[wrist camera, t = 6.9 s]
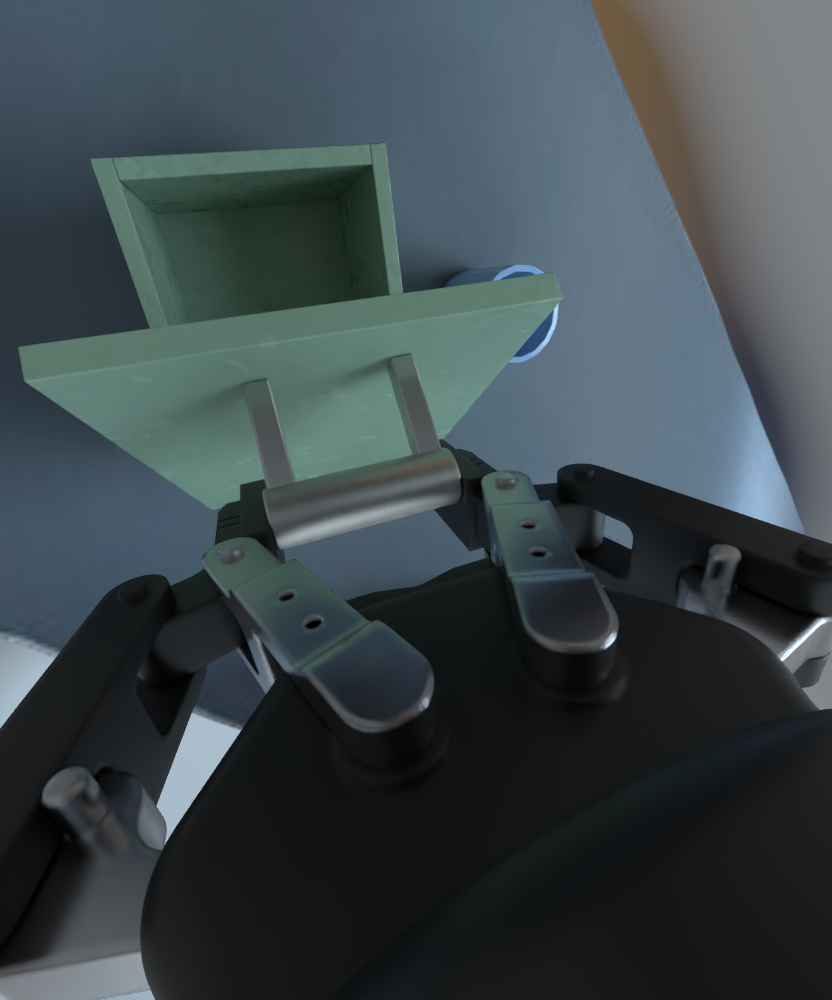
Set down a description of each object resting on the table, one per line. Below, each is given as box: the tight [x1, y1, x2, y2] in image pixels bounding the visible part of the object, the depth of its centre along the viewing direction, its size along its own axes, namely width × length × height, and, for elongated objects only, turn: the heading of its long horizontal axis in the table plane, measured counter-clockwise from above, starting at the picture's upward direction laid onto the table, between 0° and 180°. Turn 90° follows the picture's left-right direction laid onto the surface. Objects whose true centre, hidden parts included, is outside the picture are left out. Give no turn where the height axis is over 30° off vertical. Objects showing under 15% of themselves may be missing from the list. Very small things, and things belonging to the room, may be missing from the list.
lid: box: [18, 272, 563, 550], centre depth 18 cm, size 16×13×5 cm
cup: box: [444, 264, 559, 363], centre depth 33 cm, size 6×6×8 cm
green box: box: [90, 143, 403, 328], centre depth 28 cm, size 16×13×10 cm
